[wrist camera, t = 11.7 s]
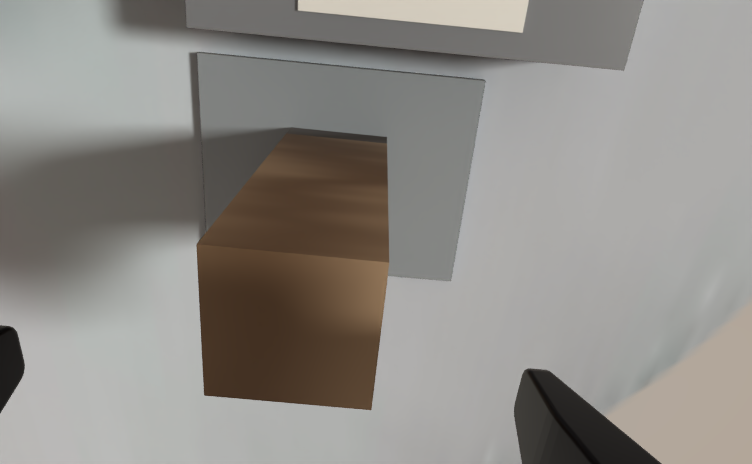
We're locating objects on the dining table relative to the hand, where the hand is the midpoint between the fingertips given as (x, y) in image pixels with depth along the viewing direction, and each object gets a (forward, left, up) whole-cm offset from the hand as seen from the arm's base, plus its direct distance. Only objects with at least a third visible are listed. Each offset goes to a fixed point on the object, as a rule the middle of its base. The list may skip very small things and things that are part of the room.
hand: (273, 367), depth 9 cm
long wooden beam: (0, 0, -11) cm, 11 cm away
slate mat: (0, 0, -11) cm, 11 cm away
